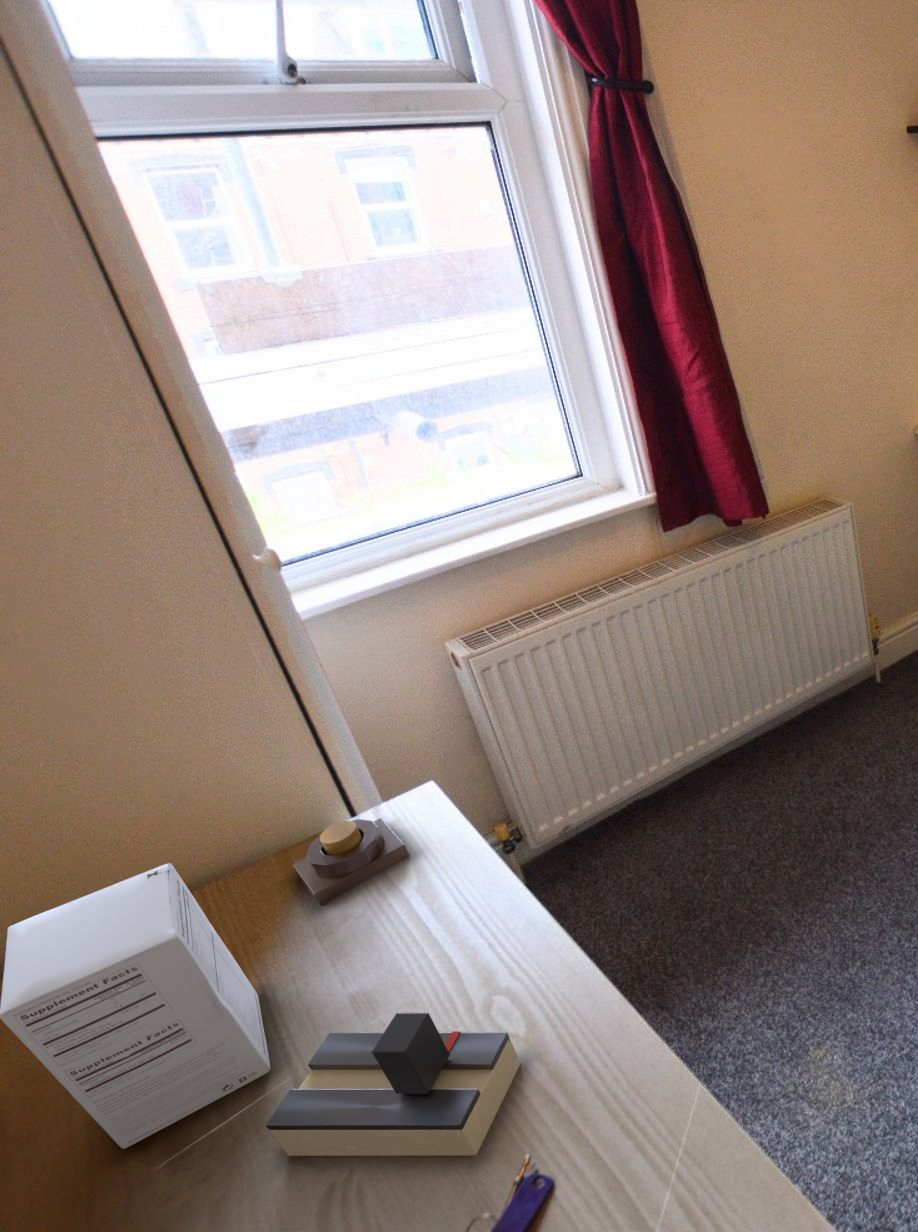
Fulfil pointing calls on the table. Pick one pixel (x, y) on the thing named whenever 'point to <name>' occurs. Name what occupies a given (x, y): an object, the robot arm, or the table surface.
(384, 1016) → the table surface
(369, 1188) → the table surface
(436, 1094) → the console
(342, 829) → the button
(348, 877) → the button block
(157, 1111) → the supplement box
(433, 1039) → the slider
